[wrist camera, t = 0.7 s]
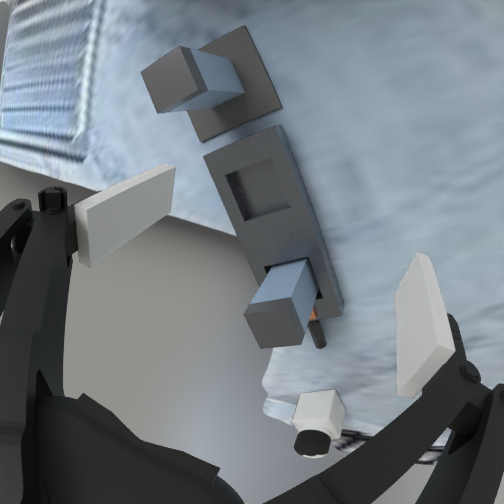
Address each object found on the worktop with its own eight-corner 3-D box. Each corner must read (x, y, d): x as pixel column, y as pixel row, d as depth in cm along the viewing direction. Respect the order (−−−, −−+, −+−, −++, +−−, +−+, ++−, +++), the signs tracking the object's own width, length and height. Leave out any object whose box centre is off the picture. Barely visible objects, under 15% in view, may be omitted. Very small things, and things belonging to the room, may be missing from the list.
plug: (197, 76, 36) (140, 72, 26) (230, 59, 34) (179, 46, 24) (211, 108, 38) (157, 113, 27) (245, 92, 35) (198, 89, 25)
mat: (170, 67, 37) (168, 67, 37) (245, 26, 32) (244, 25, 31) (201, 141, 41) (200, 142, 40) (282, 107, 35) (281, 107, 35)
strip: (213, 152, 41) (200, 157, 38) (280, 124, 36) (273, 126, 33) (293, 342, 50) (288, 357, 47) (353, 334, 46) (351, 350, 43)
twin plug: (274, 263, 44) (243, 314, 34) (307, 255, 42) (286, 307, 31) (286, 293, 45) (260, 348, 35) (319, 287, 43) (301, 344, 33)
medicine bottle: (300, 392, 55) (283, 443, 45) (335, 388, 52) (323, 442, 42) (312, 413, 57) (298, 462, 47) (346, 410, 54) (335, 461, 44)
